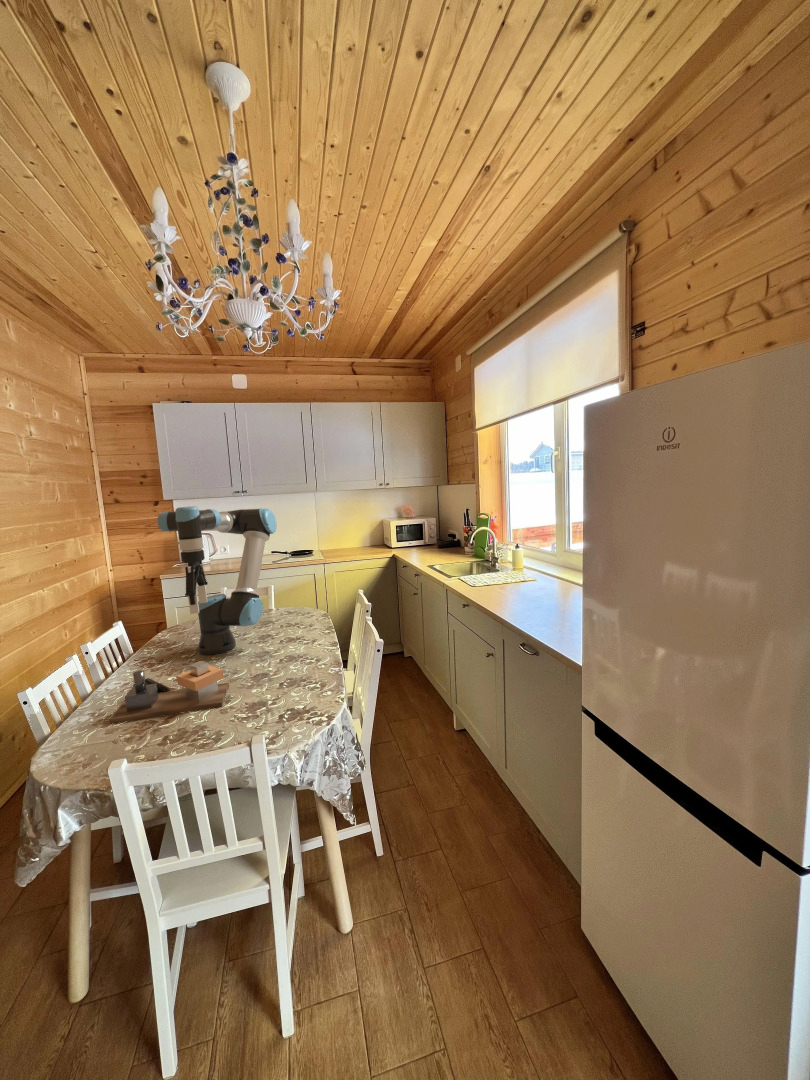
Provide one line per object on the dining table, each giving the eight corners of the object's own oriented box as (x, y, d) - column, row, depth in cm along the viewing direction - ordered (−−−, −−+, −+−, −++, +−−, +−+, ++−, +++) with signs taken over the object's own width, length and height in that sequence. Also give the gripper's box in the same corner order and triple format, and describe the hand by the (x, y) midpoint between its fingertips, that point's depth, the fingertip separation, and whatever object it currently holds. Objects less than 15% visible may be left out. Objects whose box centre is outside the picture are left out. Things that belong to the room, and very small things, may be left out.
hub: (186, 697, 145) (182, 666, 143) (205, 688, 151) (202, 658, 149) (199, 702, 141) (195, 670, 140) (218, 692, 147) (214, 661, 145)
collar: (177, 684, 144) (176, 675, 143) (205, 672, 152) (204, 664, 152) (195, 691, 138) (194, 682, 138) (223, 677, 147) (222, 669, 146)
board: (128, 701, 148) (127, 697, 147) (229, 686, 154) (228, 682, 154) (110, 724, 134) (109, 719, 134) (221, 706, 141) (221, 702, 141)
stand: (135, 700, 145) (130, 669, 143) (158, 697, 146) (153, 666, 145) (127, 711, 138) (121, 678, 136) (151, 707, 140) (146, 675, 138)
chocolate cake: (179, 687, 157) (154, 665, 157) (171, 691, 150) (145, 668, 151) (159, 709, 155) (133, 687, 156) (150, 714, 149) (123, 690, 149)
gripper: (189, 546, 167) (196, 599, 171) (170, 556, 143) (178, 619, 146) (210, 544, 169) (216, 597, 172) (195, 554, 145) (202, 616, 148)
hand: (199, 607), depth 159 cm, fingers open, 13 cm apart
